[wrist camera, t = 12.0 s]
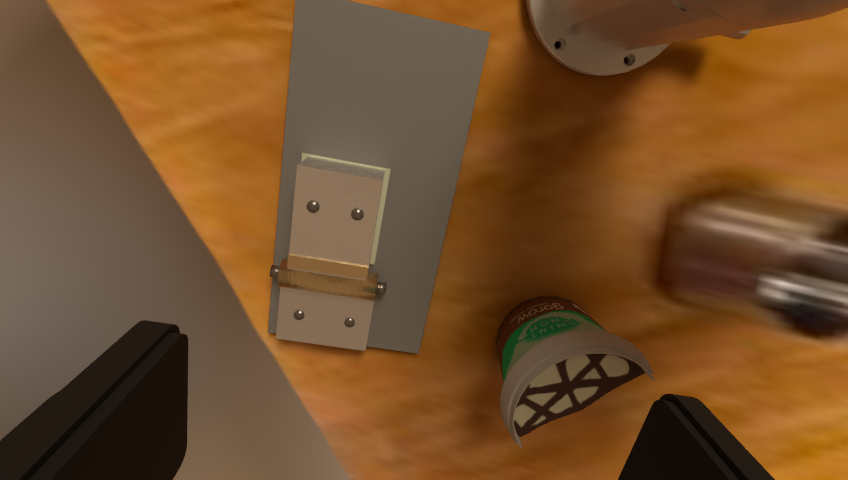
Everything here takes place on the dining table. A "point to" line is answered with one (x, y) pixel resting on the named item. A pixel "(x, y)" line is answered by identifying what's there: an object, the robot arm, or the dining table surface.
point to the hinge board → (383, 138)
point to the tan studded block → (334, 217)
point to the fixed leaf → (325, 307)
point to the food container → (558, 363)
